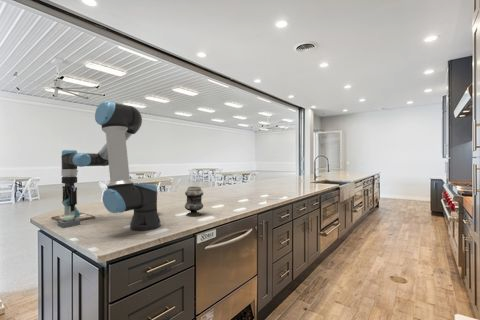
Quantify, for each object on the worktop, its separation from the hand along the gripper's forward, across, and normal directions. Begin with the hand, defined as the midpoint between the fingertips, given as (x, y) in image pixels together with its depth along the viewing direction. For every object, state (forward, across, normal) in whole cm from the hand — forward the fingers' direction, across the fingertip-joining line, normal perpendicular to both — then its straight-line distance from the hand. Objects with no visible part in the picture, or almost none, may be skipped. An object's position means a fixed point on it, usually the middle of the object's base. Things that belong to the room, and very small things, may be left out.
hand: (69, 215), depth 142 cm
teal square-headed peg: (+1, 0, -4) cm, 4 cm away
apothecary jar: (+3, -48, -53) cm, 72 cm away
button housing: (+3, -10, +4) cm, 11 cm away
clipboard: (+3, +5, -4) cm, 7 cm away
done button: (+1, -10, +4) cm, 11 cm away
